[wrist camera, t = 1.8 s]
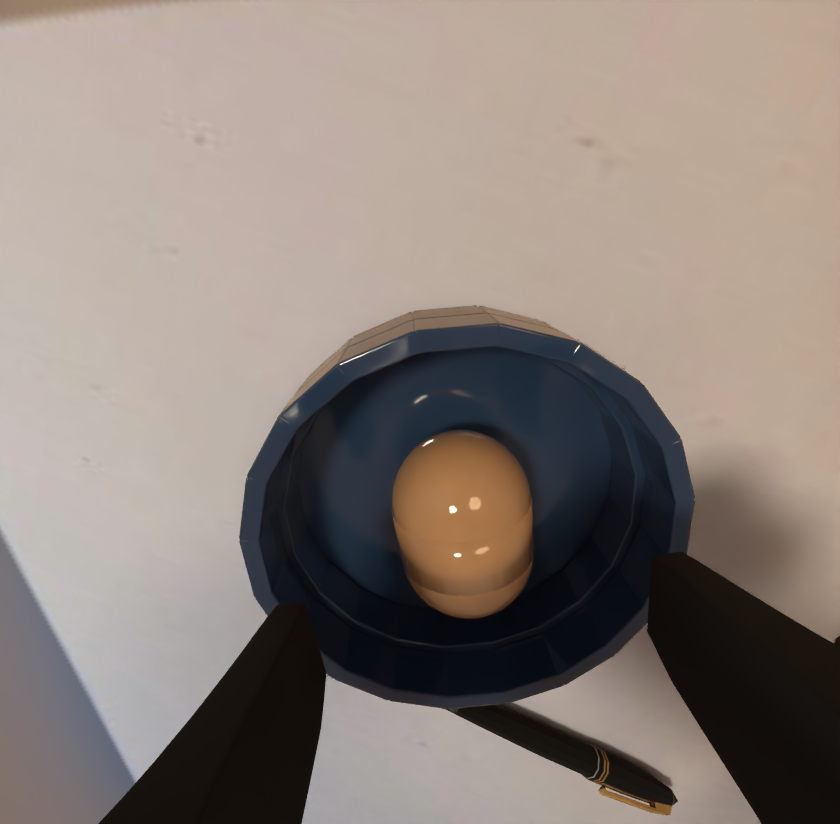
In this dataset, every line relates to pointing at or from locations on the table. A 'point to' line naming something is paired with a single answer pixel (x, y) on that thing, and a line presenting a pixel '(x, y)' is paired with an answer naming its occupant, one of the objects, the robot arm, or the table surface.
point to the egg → (464, 523)
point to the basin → (550, 489)
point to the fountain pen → (575, 757)
